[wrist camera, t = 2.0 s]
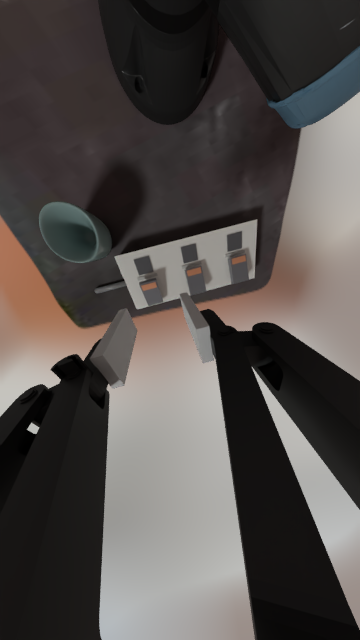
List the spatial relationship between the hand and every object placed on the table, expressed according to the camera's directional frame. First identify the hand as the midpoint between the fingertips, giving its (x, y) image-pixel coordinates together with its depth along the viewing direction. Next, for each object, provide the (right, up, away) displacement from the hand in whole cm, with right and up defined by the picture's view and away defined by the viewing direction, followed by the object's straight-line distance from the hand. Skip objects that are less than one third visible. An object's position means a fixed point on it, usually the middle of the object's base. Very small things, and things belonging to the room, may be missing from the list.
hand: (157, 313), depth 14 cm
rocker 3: (+15, +11, +17) cm, 25 cm away
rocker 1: (-4, +5, +16) cm, 17 cm away
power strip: (0, +12, +20) cm, 23 cm away
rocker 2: (+6, +8, +16) cm, 19 cm away
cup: (-15, +17, +15) cm, 27 cm away
